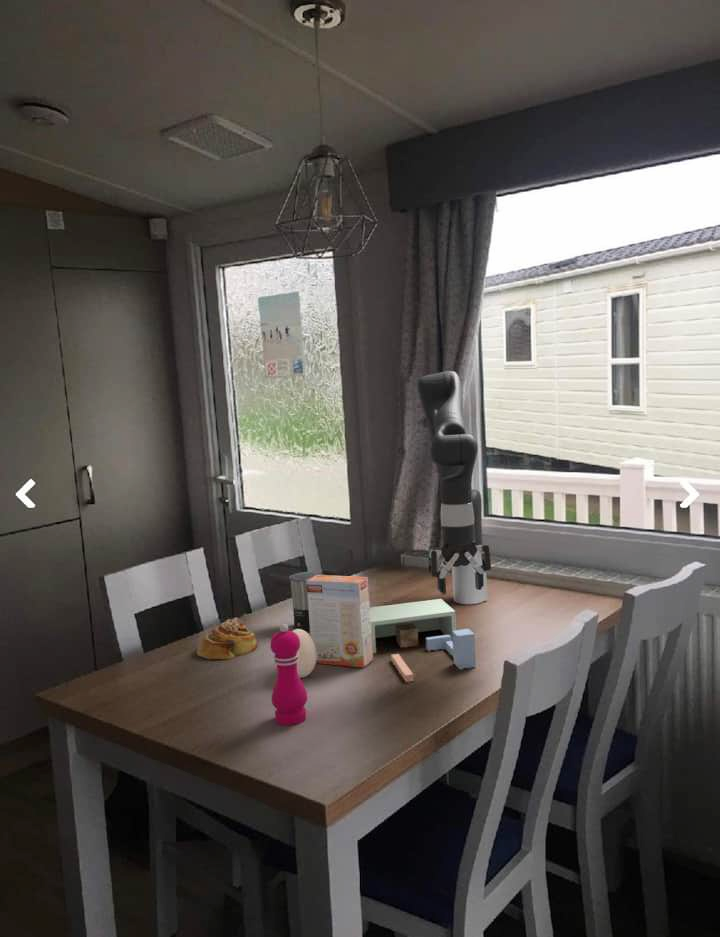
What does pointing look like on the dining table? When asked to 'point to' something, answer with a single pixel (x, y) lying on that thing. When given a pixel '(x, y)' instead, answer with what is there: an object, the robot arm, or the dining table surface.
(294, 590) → the milk frother
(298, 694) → the pepper mill
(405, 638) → the walnut cube
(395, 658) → the straight stick
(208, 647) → the pastry
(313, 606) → the cracker box
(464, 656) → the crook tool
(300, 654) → the egg
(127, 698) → the dining table surface
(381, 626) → the cubby
